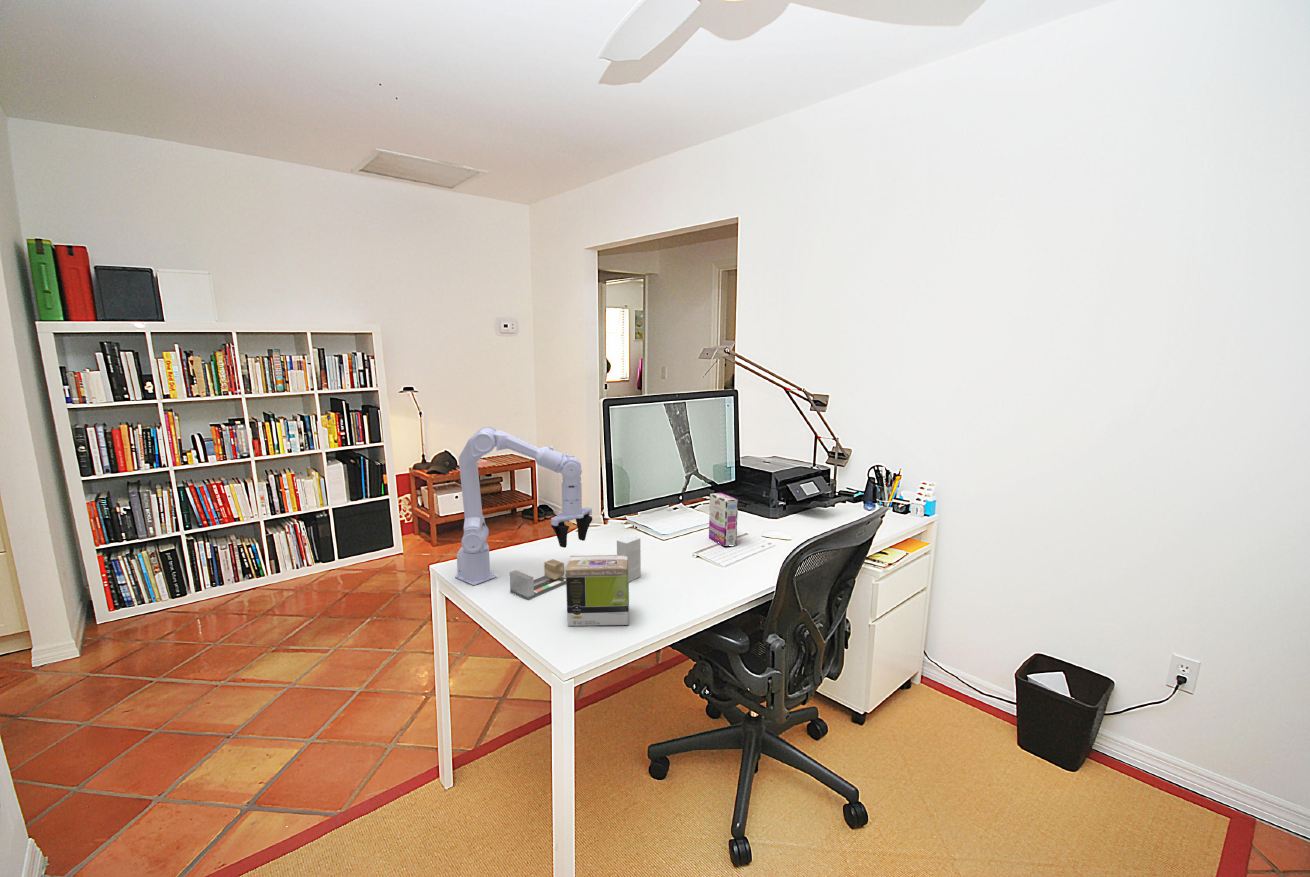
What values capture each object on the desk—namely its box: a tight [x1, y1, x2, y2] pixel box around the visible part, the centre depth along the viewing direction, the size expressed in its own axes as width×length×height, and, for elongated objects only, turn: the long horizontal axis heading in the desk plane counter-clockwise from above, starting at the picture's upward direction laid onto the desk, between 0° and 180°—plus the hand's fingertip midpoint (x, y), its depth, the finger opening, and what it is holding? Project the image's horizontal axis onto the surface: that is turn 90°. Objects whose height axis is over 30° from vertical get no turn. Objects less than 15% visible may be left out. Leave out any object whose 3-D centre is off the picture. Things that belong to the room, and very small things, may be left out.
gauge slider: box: [543, 558, 565, 581], centre depth 162 cm, size 4×6×4 cm, turn 52°
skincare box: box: [616, 534, 642, 582], centre depth 165 cm, size 6×4×12 cm
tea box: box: [565, 554, 630, 627], centre depth 141 cm, size 15×10×15 cm, turn 92°
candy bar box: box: [708, 492, 739, 547], centre depth 196 cm, size 11×5×16 cm, turn 25°
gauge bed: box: [509, 569, 566, 601], centre depth 159 cm, size 15×8×6 cm, turn 142°
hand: (572, 543), depth 168 cm, fingers open, 7 cm apart
